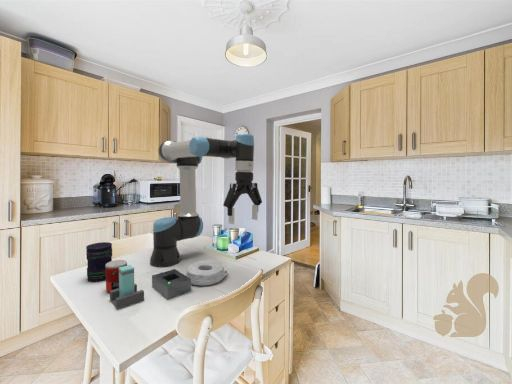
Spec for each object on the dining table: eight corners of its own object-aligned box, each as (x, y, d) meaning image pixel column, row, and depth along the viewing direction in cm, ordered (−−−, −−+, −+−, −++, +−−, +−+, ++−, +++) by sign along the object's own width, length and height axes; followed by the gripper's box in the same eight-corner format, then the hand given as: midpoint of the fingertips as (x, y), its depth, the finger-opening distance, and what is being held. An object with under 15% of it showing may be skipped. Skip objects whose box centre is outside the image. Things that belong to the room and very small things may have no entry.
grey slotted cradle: (110, 300, 91) (109, 291, 90) (135, 291, 97) (135, 283, 97) (117, 309, 84) (117, 300, 84) (144, 300, 91) (144, 291, 90)
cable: (230, 273, 117) (230, 261, 117) (216, 290, 100) (216, 275, 100) (197, 269, 121) (197, 257, 121) (178, 284, 104) (178, 271, 104)
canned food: (112, 295, 94) (111, 268, 93) (102, 290, 98) (101, 263, 97) (131, 288, 100) (131, 262, 99) (121, 283, 104) (120, 258, 103)
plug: (119, 298, 91) (118, 267, 90) (130, 295, 93) (130, 264, 92) (122, 303, 88) (122, 270, 87) (134, 299, 91) (134, 267, 90)
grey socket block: (152, 287, 101) (152, 273, 101) (174, 279, 108) (174, 267, 108) (167, 299, 91) (167, 284, 91) (191, 290, 99) (191, 276, 98)
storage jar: (83, 283, 103) (81, 249, 102) (92, 274, 113) (90, 242, 112) (109, 281, 106) (108, 247, 105) (115, 272, 115) (115, 241, 114)
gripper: (227, 171, 90) (226, 227, 92) (270, 172, 108) (269, 219, 110) (214, 170, 95) (214, 224, 97) (258, 171, 113) (257, 216, 115)
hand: (243, 221), depth 103 cm, fingers open, 13 cm apart
